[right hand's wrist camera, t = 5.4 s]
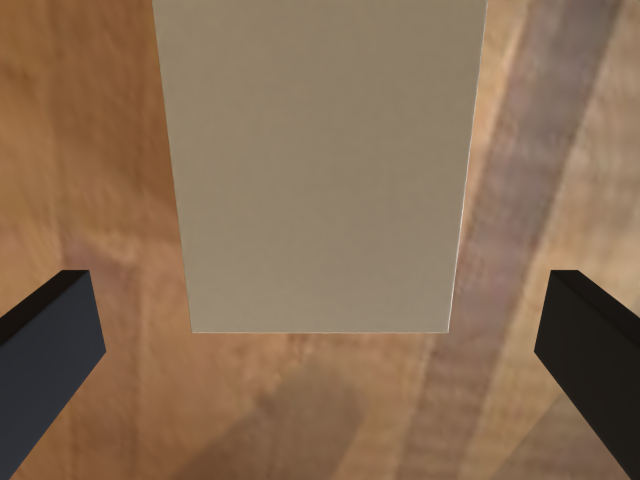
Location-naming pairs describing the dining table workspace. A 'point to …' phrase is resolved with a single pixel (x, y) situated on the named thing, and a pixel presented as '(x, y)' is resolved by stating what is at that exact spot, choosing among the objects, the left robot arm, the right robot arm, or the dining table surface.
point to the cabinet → (319, 159)
